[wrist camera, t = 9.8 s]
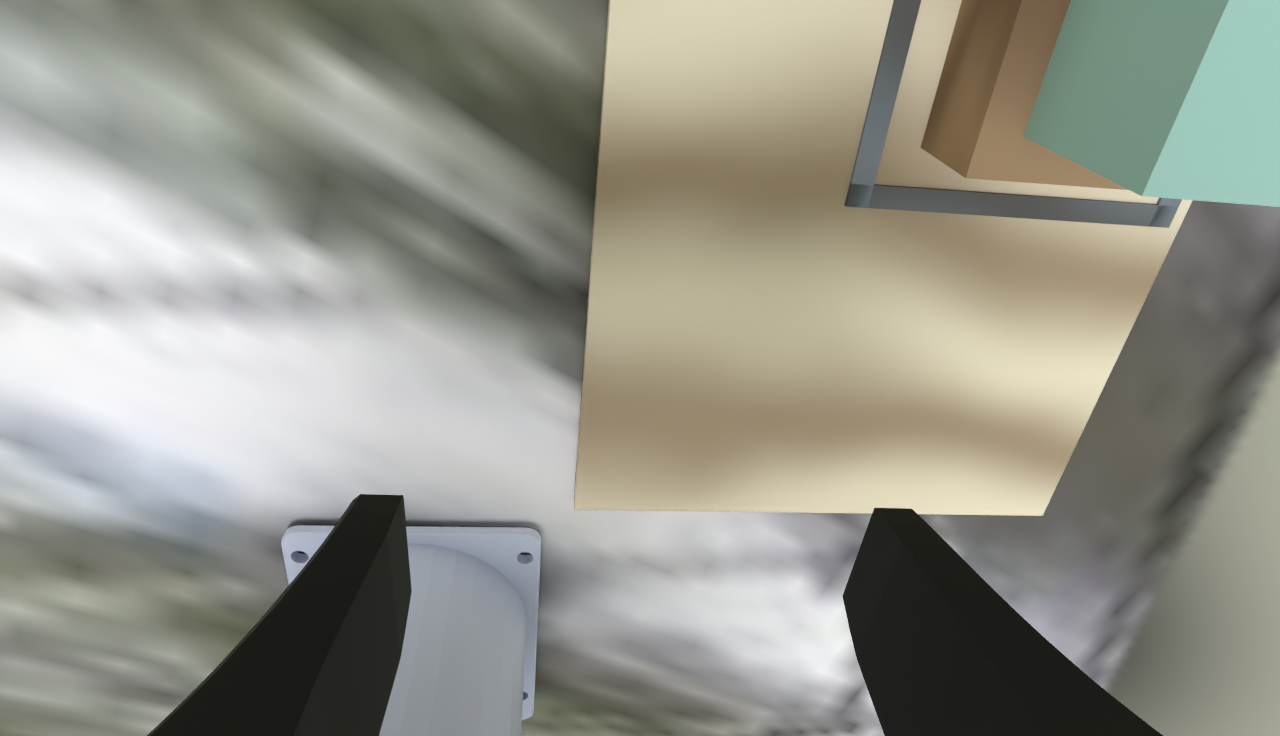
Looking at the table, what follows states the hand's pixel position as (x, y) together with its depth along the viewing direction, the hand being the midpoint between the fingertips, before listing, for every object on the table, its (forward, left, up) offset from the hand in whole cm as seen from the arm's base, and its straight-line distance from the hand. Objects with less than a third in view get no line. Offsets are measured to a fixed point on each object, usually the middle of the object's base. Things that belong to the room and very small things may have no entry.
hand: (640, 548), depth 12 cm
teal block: (+7, -11, -7) cm, 15 cm away
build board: (+2, -8, -10) cm, 13 cm away
